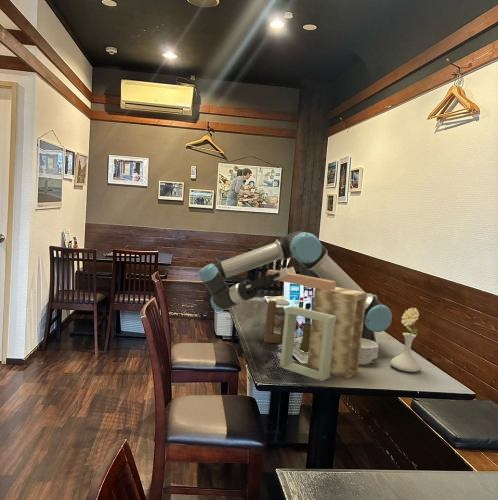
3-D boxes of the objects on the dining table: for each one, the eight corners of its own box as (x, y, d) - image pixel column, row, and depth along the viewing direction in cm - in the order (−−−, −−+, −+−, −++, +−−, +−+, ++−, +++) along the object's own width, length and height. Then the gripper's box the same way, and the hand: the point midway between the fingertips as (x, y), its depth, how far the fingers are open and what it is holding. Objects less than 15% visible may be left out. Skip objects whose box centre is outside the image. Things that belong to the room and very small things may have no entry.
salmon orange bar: (266, 278, 168) (267, 270, 168) (272, 277, 171) (273, 269, 171) (329, 291, 153) (330, 282, 153) (335, 289, 156) (336, 281, 156)
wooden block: (289, 344, 194) (293, 303, 192) (264, 342, 193) (268, 301, 191) (287, 341, 197) (291, 301, 196) (263, 340, 196) (267, 299, 195)
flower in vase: (387, 362, 181) (394, 301, 179) (416, 365, 180) (423, 304, 178) (394, 374, 168) (402, 308, 166) (425, 377, 167) (434, 312, 165)
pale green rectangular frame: (279, 367, 165) (285, 308, 163) (287, 363, 170) (293, 306, 168) (322, 381, 155) (329, 318, 153) (329, 376, 160) (336, 316, 157)
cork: (310, 354, 183) (313, 327, 182) (296, 350, 186) (299, 324, 185) (316, 351, 188) (318, 325, 187) (303, 347, 191) (305, 322, 190)
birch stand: (306, 366, 168) (314, 287, 165) (318, 360, 176) (327, 285, 173) (346, 379, 159) (356, 295, 156) (357, 372, 167) (366, 292, 164)
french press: (280, 327, 220) (285, 277, 218) (295, 334, 211) (301, 281, 208) (264, 328, 215) (269, 277, 213) (279, 335, 205) (284, 282, 203)
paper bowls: (348, 352, 191) (350, 333, 190) (382, 362, 181) (385, 343, 180) (330, 359, 179) (333, 340, 178) (366, 370, 169) (368, 350, 169)
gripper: (258, 298, 183) (305, 278, 171) (233, 303, 170) (281, 281, 157) (252, 280, 185) (298, 259, 172) (226, 284, 171) (274, 261, 158)
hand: (290, 270), depth 164 cm, fingers closed on salmon orange bar, 4 cm apart
